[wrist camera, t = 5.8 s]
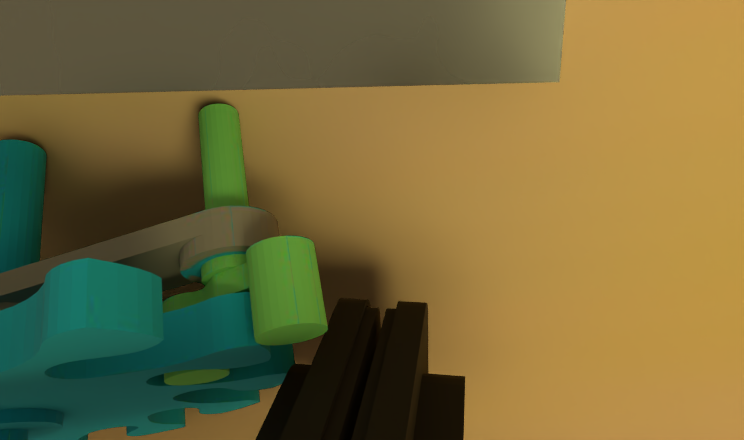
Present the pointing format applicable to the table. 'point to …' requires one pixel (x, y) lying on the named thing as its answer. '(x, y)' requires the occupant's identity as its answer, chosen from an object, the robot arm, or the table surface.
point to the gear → (148, 305)
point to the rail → (274, 44)
